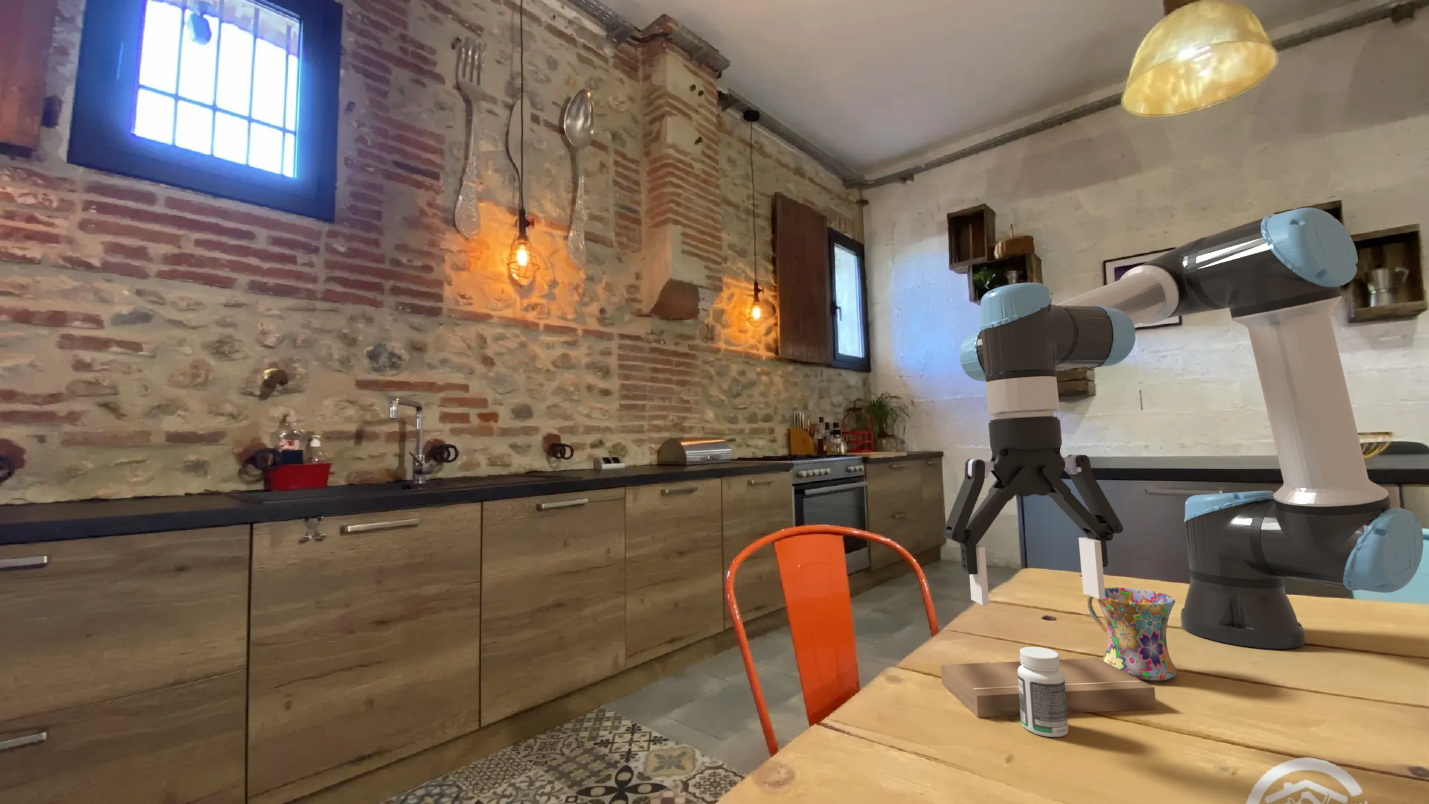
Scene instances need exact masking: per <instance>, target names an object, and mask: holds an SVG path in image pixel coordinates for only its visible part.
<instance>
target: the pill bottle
mask: <svg viewBox="0 0 1429 804" xmlns="http://www.w3.org/2000/svg"><path fill="white" fill-rule="evenodd" d="M1059 660H1060V655H1059V653H1058V652H1057V651H1055V650H1053V649H1051V648H1046V647H1039V646H1025V647H1022V648H1020V649H1019V661H1020V662H1021V664H1022V665H1021V666H1019V668H1018V684H1019V699H1020V713H1021V715H1020V723H1021V725H1022V726H1023V728H1024V729H1026V730H1027V731H1029V732H1031V733H1032V734H1035V735H1038V736H1041V737H1047V738H1049V737H1050V738H1051V737H1052V738H1061V737H1064V736H1066V735H1067V734H1068V732H1069V722H1068V721H1069V720H1068V713H1067V705H1066V691H1065V678H1064V674H1063V673H1062V672H1061V671H1060V670H1059V668H1060V661H1059Z"/></svg>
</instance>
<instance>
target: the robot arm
mask: <svg viewBox="0 0 1429 804" xmlns="http://www.w3.org/2000/svg"><path fill="white" fill-rule="evenodd" d="M1357 253H1358V252H1357V249H1356V246H1355V243H1354V241H1353V238H1352V237H1351V235H1350V234H1349V232H1348V230H1347V229H1346V227H1345V226H1344V225H1343V224H1342V222H1340V221H1339V220H1338V219H1337V218H1335V217H1334V216H1333V215H1332V214H1330V213H1329V212H1327V211H1325V210H1322V209H1319V208H1315V207H1301V208H1295V209H1292V210H1289V211H1285V212H1280V213H1273V214H1271V215H1269V216H1265V217H1263V218H1260V219H1256V220H1254V221H1251V222H1248V223H1245V224H1242V225H1238V226H1236V227H1232V228H1230V229H1226V230H1224V231H1220V232H1218V233H1214V234H1211V235H1208V236H1204V237H1201V238H1198V239H1194V240H1192V241H1189V242H1187V243H1184V244H1183V245H1180V246H1178V247H1176V248H1173V249H1171V250H1170V251H1168V252H1165V253H1163V254H1162V255H1160V256H1157V257H1155V258H1153V259H1150V260H1149V261H1146V262H1145V263H1141V264H1140V265H1137V266H1135V267H1133V268H1131V269H1129V270H1127V271H1126V272H1125V273H1123V274H1122V276H1121V277H1120V278H1119V280H1116V281H1114V282H1113V281H1112V282H1111V283H1108V284H1105V285H1103V286H1100V287H1097V288H1094V289H1093V290H1089V291H1088V292H1085V293H1081V294H1080V295H1076V296H1074V297H1072V298H1069V299H1067V300H1065V301H1061V302H1059V303H1056V304H1052V301H1053V299H1052V298H1051V295H1050V289H1049V288H1048V287H1047V286H1046V285H1045V284H1042V283H1040V282H1021V283H1020V282H1019V283H1013V284H1007V285H1003V286H998V287H996V288H993V289H991V290H989V291H987V292H986V293H985V294H984V295H983V296H982V297H981V300H980V325H979V328H980V329H979V330H980V331H978V332H976V333H973V334H971V335H968V336H967V337H966V338H965V339H964V340H963V342H962V343H961V345H960V348H959V351H958V358H959V362H960V366H961V368H962V370H963V372H964V373H965V374H966V375H967V377H969V378H970V379H972V380H974V381H978V382H985V389H986V390H985V391H986V392H985V393H986V404H987V413H988V415H990V416H993V419H991V420H989V422H988V433H989V435H988V436H989V445H990V446H989V447H990V449H991V450H990V451H991V459H990V461H987V460H983V459H980V458H979V459H975V458H968V459H966V461H965V462H964V463H965V464H964V465H965V466H964V478H963V481H962V483H961V486H960V488H959V491H958V493H957V496H956V498H955V501H954V503H953V505H952V509H951V510H950V512H949V513H950V514H949V516H948V518H947V521H946V523H945V525H944V527H943V530H942V536H943V537H944V538H945V539H948V540H950V541H953V542H956V543H958V544H959V546H960V547H959V548H960V558H961V559H960V560H961V568H962V571H963V573H965V574H968V575H969V586H970V599H971V601H973V602H975V603H977V604H979V605H981V606H983V607H984V606H986V607H987V606H990V598H989V584H988V570H987V557H986V547H985V546H983V545H979V542H980V541H981V539H982V538H983V537H984V536H985V534H986V533H987V531H988V530H989V528H990V527H992V526H991V525H992V524H993V522H994V521H995V520H996V519H997V517H998V516H999V515H1000V513H1001V512H1002V510H1003V509H1004V507H1005V505H1007V503H1008V502H1010V501H1011V500H1012V499H1014V497H1020V498H1021V497H1023V498H1024V497H1030V496H1033V495H1034V496H1041V497H1043V496H1048V497H1050V498H1051V500H1053V501H1054V502H1055V503H1056V504H1057V505H1058V507H1060V509H1061V510H1062V511H1063V512H1064V513H1065V514H1066V515H1067V516H1068V517H1069V519H1070V520H1072V522H1073V523H1074V524H1075V525H1076V526H1077V527H1078V528H1079V529H1080V531H1082V532H1083V534H1084V535H1085V536H1087V537H1084V536H1083V537H1078V546H1079V556H1080V557H1079V558H1080V569H1081V570H1080V571H1081V581H1082V582H1081V583H1082V592H1083V594H1084V595H1087V596H1088V597H1089V596H1092V597H1094V599H1105V588H1106V587H1105V579H1104V568H1107V567H1108V564H1109V558H1108V547H1107V546H1108V545H1107V541H1108V542H1111V541H1112V540H1113V539H1114V535H1115V534H1121V533H1122V532H1123V530H1124V527H1123V524H1122V523H1121V521H1120V519H1119V517H1118V516H1117V514H1116V511H1114V509H1113V506H1111V503H1110V502H1109V500H1108V498H1107V497H1106V495H1105V493H1104V492H1103V491H1104V490H1102V488H1101V486H1100V484H1099V483H1098V480H1097V479H1096V477H1095V476H1094V475H1093V471H1092V467H1091V460H1090V457H1089V456H1088V455H1086V454H1068V455H1067V456H1065V457H1063V455H1062V454H1061V447H1062V446H1063V441H1062V430H1061V429H1062V427H1061V419H1060V418H1059V417H1058V416H1055V415H1054V414H1055V412H1058V411H1059V410H1060V408H1061V407H1060V400H1059V390H1058V382H1057V371H1062V370H1071V369H1076V368H1090V369H1096V368H1102V367H1112V366H1114V365H1117V364H1120V363H1121V362H1122V361H1123V360H1126V359H1127V358H1128V356H1129V355H1130V354H1131V352H1132V350H1133V349H1134V346H1135V343H1136V338H1137V337H1136V329H1135V326H1136V325H1138V324H1146V325H1147V324H1156V323H1160V322H1162V321H1164V320H1167V319H1171V318H1175V317H1181V316H1186V315H1192V314H1200V313H1205V312H1212V311H1217V310H1224V309H1228V308H1229V311H1230V312H1229V313H1230V318H1231V320H1232V321H1234V322H1236V323H1237V324H1240V325H1242V326H1244V327H1245V328H1247V330H1248V334H1249V338H1250V344H1251V347H1252V351H1253V356H1254V360H1255V364H1256V365H1255V366H1256V369H1257V373H1258V377H1259V382H1260V387H1261V391H1262V394H1263V399H1264V402H1265V403H1264V404H1265V407H1266V411H1267V416H1268V420H1269V424H1270V425H1269V426H1270V428H1271V429H1270V430H1271V433H1272V437H1273V442H1274V446H1275V451H1276V454H1277V459H1278V463H1279V469H1280V472H1281V476H1282V480H1283V484H1282V486H1280V488H1279V489H1277V491H1275V492H1274V491H1273V490H1258V491H1256V490H1255V491H1241V492H1238V491H1237V492H1225V493H1224V492H1222V493H1206V494H1195V495H1192V496H1189V497H1188V498H1187V499H1186V500H1185V504H1184V519H1183V523H1184V524H1185V533H1186V535H1185V536H1186V543H1187V554H1188V555H1187V557H1188V564H1189V565H1188V566H1189V576H1190V578H1189V579H1190V583H1189V586H1188V590H1187V594H1186V598H1185V601H1184V606H1183V608H1182V609H1181V611H1180V622H1181V627H1182V629H1183V630H1185V631H1186V632H1188V633H1190V634H1193V635H1195V636H1198V637H1201V638H1204V639H1208V640H1211V641H1216V642H1219V643H1220V642H1221V643H1225V644H1230V645H1236V646H1243V647H1249V648H1250V647H1251V648H1258V649H1270V650H1271V649H1274V650H1280V649H1281V650H1285V649H1288V650H1289V649H1295V648H1300V647H1303V646H1305V645H1306V638H1305V630H1304V627H1303V624H1301V622H1299V621H1298V619H1297V616H1296V612H1295V611H1294V607H1293V605H1292V603H1291V602H1290V599H1289V598H1288V596H1287V593H1286V590H1285V582H1284V578H1286V579H1291V580H1298V581H1305V582H1311V583H1316V584H1322V585H1326V586H1333V587H1339V588H1344V589H1347V590H1350V591H1365V592H1366V591H1368V592H1373V593H1374V592H1375V593H1382V594H1383V593H1384V594H1386V593H1388V594H1389V593H1393V592H1396V591H1399V590H1401V589H1403V588H1404V587H1406V586H1407V585H1408V584H1409V583H1410V582H1411V581H1412V579H1413V578H1414V576H1415V575H1416V573H1417V571H1418V568H1419V567H1420V564H1421V561H1422V556H1423V551H1424V533H1423V527H1422V524H1421V522H1420V520H1419V519H1418V518H1417V517H1416V515H1415V514H1414V513H1413V512H1412V511H1410V510H1408V509H1406V508H1405V509H1404V508H1402V507H1400V506H1399V507H1398V506H1397V507H1395V506H1392V503H1391V499H1390V494H1389V491H1388V490H1387V488H1384V487H1383V486H1381V485H1379V484H1377V483H1375V482H1373V481H1372V480H1371V479H1369V475H1368V472H1367V471H1368V470H1367V467H1366V463H1365V457H1364V454H1363V450H1362V447H1361V441H1360V437H1359V434H1358V428H1357V423H1356V420H1355V416H1354V411H1353V407H1352V402H1351V399H1350V395H1349V391H1348V386H1347V382H1346V376H1345V373H1344V370H1343V365H1342V361H1341V356H1340V352H1339V348H1338V347H1339V346H1338V344H1337V340H1336V339H1337V338H1336V335H1335V331H1334V328H1333V323H1332V318H1331V315H1330V314H1331V311H1332V309H1333V308H1334V307H1335V306H1337V304H1338V303H1339V302H1340V301H1341V300H1342V299H1343V295H1342V290H1341V286H1344V285H1346V284H1348V283H1349V282H1351V281H1352V280H1353V279H1354V278H1355V276H1356V273H1357V272H1358V271H1357V270H1358V267H1357V264H1358V262H1359V261H1358V260H1359V259H1358V254H1357ZM1064 471H1065V472H1066V473H1067V474H1068V475H1069V477H1070V479H1071V481H1072V483H1073V485H1074V487H1075V488H1076V490H1077V492H1078V494H1079V495H1080V496H1081V499H1082V500H1083V502H1084V504H1085V505H1086V506H1085V505H1084V504H1083V503H1082V502H1081V501H1080V500H1079V499H1078V498H1077V497H1076V496H1075V495H1074V493H1072V492H1071V491H1072V489H1071V488H1070V487H1069V486H1068V484H1066V482H1065V481H1063V480H1062V479H1061V476H1062V474H1063V472H1064ZM990 472H991V473H990ZM990 474H992V475H993V477H994V478H995V481H994V482H993V484H992V485H991V486H990V488H989V489H988V491H987V492H988V493H987V495H986V496H985V498H984V499H983V500H982V502H981V503H980V505H979V507H978V508H977V509H976V510H975V512H974V514H973V511H974V509H975V506H976V503H977V502H978V499H979V496H980V494H981V491H982V490H983V486H984V483H985V479H988V476H989V475H990Z"/></svg>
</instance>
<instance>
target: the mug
mask: <svg viewBox="0 0 1429 804" xmlns="http://www.w3.org/2000/svg"><path fill="white" fill-rule="evenodd" d="M1094 599H1095V597H1092V596H1089V595H1088V598H1087V600H1086V603H1087V608H1088V611H1089V613H1090V614H1091V617H1092V619H1093V620H1094V622H1095V623H1096V624H1097V625H1098V627H1099V628H1101V630H1102V631H1103V632H1104V633H1105V634H1107V643H1106V645H1107V646H1106V650H1105V653H1104V655H1103V657H1102V659H1101V660H1102V661H1104V662H1106V663H1108V664H1110V665H1112V666H1114V667H1116V668H1118V669H1120V670H1122V671H1124V672H1126V673H1128V674H1130V675H1132V676H1133V677H1135V678H1137V679H1139V680H1141V681H1165V680H1166V681H1167V680H1172V679H1173V678H1175V677H1176V676H1177V675H1178V669H1177V668H1176V667H1175V665H1174V662H1173V661H1172V659H1171V656H1170V653H1169V649H1168V643H1167V631H1168V630H1167V628H1168V623H1169V618H1170V615H1171V612H1172V610H1173V607H1174V606H1175V603H1176V599H1175V598H1174V597H1172V595H1169V594H1166V593H1162V592H1159V591H1155V590H1149V589H1142V588H1136V587H1135V588H1133V587H1119V586H1117V587H1116V586H1115V587H1113V586H1112V587H1111V586H1109V587H1105V599H1097V598H1096V599H1097V602H1098V604H1099V607H1100V608H1101V611H1102V613H1103V616H1104V619H1105V620H1104V621H1105V625H1106V626H1105V625H1104V623H1103V622H1102V621H1101V619H1100V618H1099V617H1098V615H1097V613H1096V611H1095V610H1094V607H1093V600H1094Z"/></svg>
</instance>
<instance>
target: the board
mask: <svg viewBox="0 0 1429 804" xmlns="http://www.w3.org/2000/svg"><path fill="white" fill-rule="evenodd" d="M1059 661H1060V668H1059V670H1060V671H1061V672H1062V673H1063V674H1064V678H1065V691H1066V705H1067V714H1075V713H1076V714H1078V713H1095V712H1096V713H1097V712H1098V713H1099V712H1100V713H1101V712H1115V711H1116V712H1118V711H1134V710H1135V711H1138V710H1154V709H1157V704H1156V703H1157V701H1156V700H1157V699H1156V691H1155V686H1153V685H1151V684H1149V683H1148V682H1145V681H1144V680H1142V679H1137V678H1135V677H1133V676H1132V675H1130V674H1128V673H1126V672H1124V671H1122V670H1120V669H1118V668H1116V667H1114V666H1112V665H1110V664H1108V663H1106V662H1104V661H1102V659H1100V658H1098V657H1086V658H1083V657H1082V658H1065V659H1062V658H1061V659H1060V658H1059ZM1021 665H1022V664H1021V662H1020V660H1018V661H1017V660H1015V661H1000V662H999V661H996V662H994V661H993V662H976V663H974V662H973V663H972V662H971V663H956V664H954V663H952V664H951V663H949V664H940V669H941V671H940V674H941V684H942V686H943V687H945V688H946V689H947V690H948V691H949V692H950V693H951V694H952V695H953V696H955V698H956V699H958V700H959V701H960V702H961V703H962V704H963V705H964V706H965V707H966V708H967V709H968V710H970V711H971V713H972V714H974V716H976V718H993V717H1013V716H1015V717H1016V716H1017V717H1019V716H1021V713H1020V699H1019V684H1018V668H1019V666H1021Z"/></svg>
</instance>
